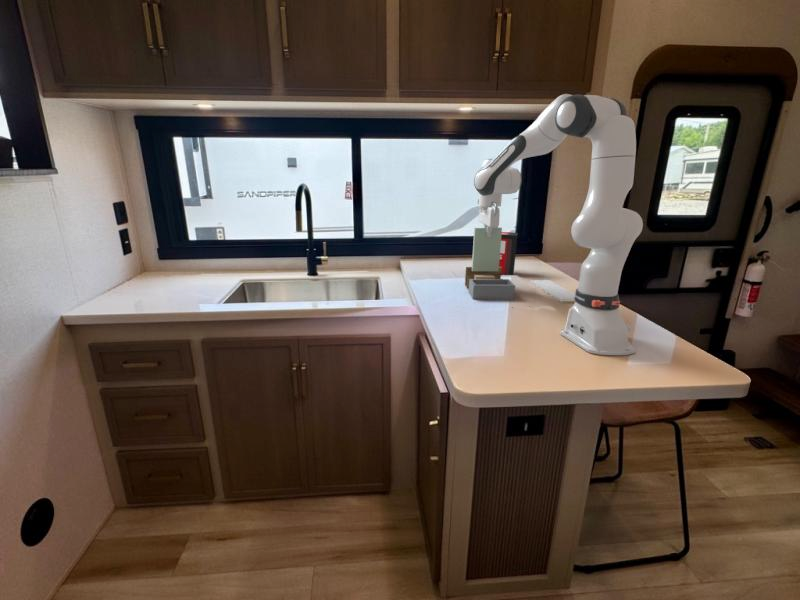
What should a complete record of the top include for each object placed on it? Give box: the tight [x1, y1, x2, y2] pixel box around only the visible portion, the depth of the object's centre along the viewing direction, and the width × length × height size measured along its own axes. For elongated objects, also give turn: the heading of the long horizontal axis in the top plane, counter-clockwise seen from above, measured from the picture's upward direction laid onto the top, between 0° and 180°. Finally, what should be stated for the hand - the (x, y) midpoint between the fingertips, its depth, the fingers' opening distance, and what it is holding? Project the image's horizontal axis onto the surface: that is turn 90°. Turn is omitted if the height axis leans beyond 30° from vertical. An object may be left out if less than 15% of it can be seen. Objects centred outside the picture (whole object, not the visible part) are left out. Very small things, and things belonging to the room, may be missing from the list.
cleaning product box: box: [499, 231, 519, 276], centre depth 201 cm, size 16×9×20 cm, turn 74°
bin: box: [467, 278, 516, 300], centre depth 163 cm, size 9×16×7 cm, turn 92°
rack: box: [464, 266, 502, 292], centre depth 172 cm, size 10×15×10 cm, turn 92°
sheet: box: [471, 226, 503, 271], centre depth 170 cm, size 2×11×18 cm, turn 92°
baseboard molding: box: [530, 279, 575, 304], centre depth 175 cm, size 31×3×12 cm
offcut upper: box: [474, 275, 495, 279], centre depth 170 cm, size 3×8×3 cm, turn 92°
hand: (487, 236), depth 169 cm, fingers closed on sheet, 2 cm apart
